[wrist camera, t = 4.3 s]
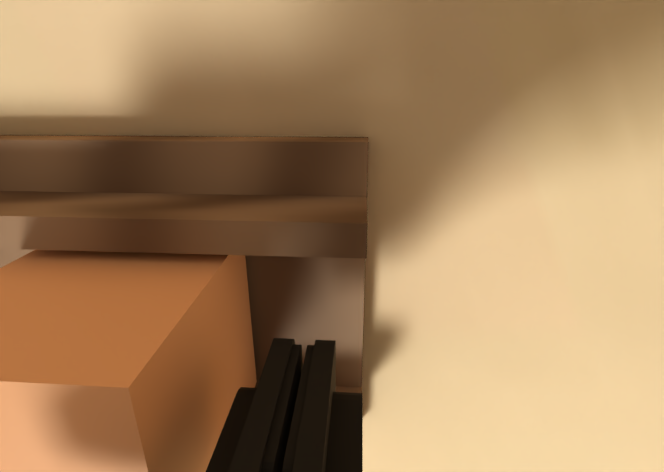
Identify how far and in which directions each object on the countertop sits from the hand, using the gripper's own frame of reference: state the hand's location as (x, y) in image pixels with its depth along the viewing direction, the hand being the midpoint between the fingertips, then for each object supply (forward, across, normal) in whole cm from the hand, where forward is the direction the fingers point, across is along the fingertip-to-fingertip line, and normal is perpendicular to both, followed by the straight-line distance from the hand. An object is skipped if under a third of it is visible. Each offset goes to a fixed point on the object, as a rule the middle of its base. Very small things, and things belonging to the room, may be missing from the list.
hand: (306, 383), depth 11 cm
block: (+4, +5, 0) cm, 6 cm away
